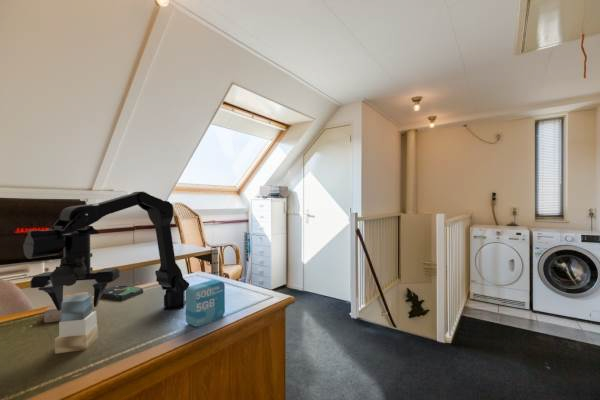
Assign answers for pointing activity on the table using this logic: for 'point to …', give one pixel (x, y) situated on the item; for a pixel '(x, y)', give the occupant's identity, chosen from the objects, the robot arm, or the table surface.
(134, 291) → the disk drive
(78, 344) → the oak slab
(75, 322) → the white slab
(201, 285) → the data package
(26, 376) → the table surface
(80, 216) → the robot arm
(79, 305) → the blue cube
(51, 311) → the brick
